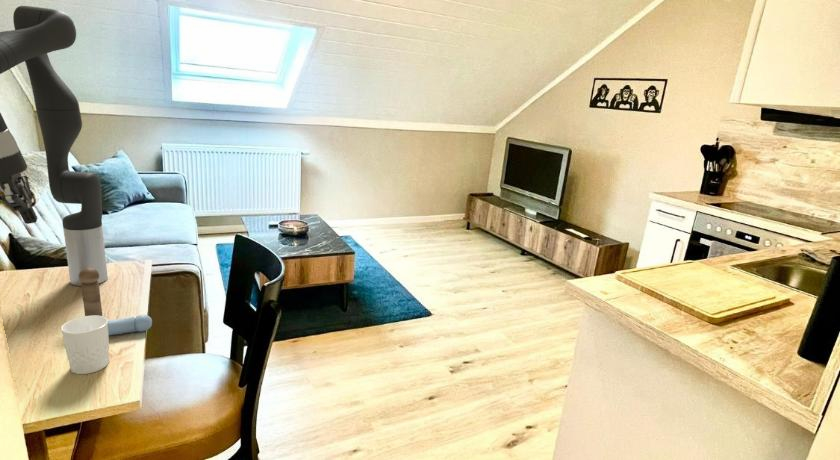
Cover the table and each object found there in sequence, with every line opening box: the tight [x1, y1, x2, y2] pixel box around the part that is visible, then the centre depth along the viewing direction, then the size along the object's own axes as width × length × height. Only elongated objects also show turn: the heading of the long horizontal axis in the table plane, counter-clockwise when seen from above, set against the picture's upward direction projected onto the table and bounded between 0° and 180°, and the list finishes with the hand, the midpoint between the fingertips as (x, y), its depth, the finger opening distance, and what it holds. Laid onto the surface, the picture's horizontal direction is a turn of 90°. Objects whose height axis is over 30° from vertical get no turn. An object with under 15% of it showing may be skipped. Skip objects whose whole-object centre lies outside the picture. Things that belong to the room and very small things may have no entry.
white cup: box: [60, 315, 110, 375], centre depth 95 cm, size 8×8×10 cm
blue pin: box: [108, 314, 153, 337], centre depth 109 cm, size 4×4×14 cm
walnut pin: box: [79, 268, 103, 316], centre depth 114 cm, size 4×4×14 cm
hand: (31, 221), depth 105 cm, fingers closed
